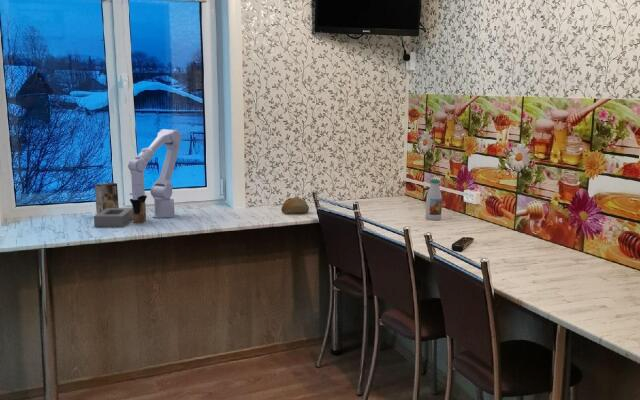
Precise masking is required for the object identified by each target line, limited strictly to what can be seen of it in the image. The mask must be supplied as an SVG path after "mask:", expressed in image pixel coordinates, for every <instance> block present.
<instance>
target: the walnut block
mask: <svg viewBox="0 0 640 400" xmlns="http://www.w3.org/2000/svg"><path fill="white" fill-rule="evenodd" d="M131 208H133V206H131ZM146 209H147V208H146V201H145V202H142V203H141V208H140V214H135V212H134V209H133V219H132V222H133V224H141V223H143V224H144V223H145V222H146V221H147V210H146Z"/></svg>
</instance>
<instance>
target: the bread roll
mask: <svg viewBox="0 0 640 400" xmlns="http://www.w3.org/2000/svg"><path fill="white" fill-rule="evenodd" d="M280 211H281V213H283V214H307V213H308V212H309V211H310V207H309V205H308V203H307V202H306V200H304V199H303V198H300V197H290V198H287V199H286V200H285V201H284V202H283V203H282V206H281V209H280Z"/></svg>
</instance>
